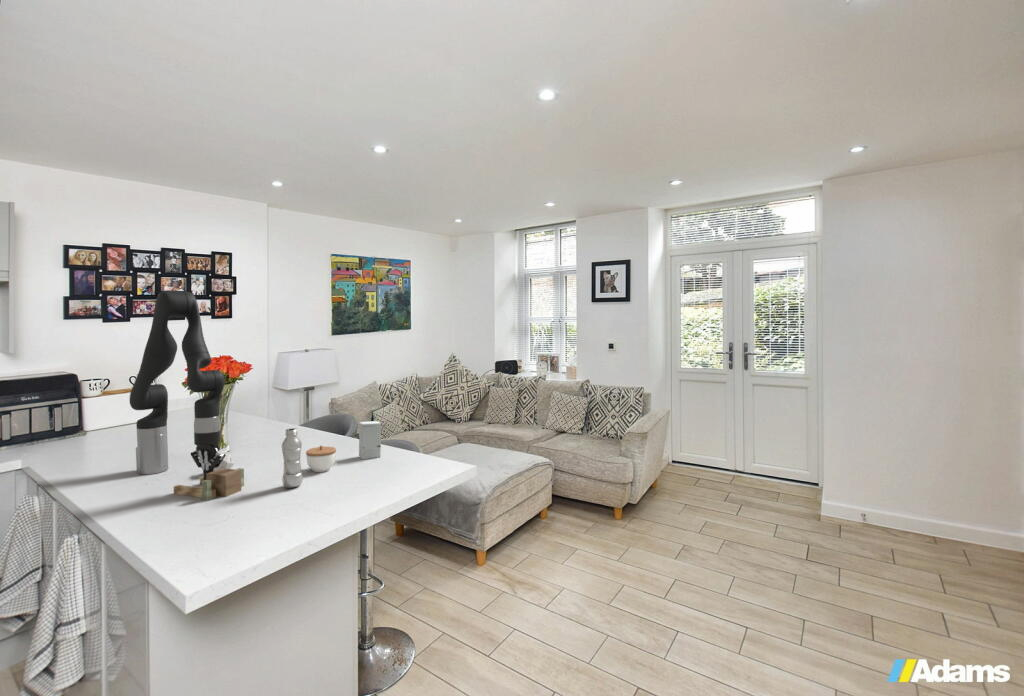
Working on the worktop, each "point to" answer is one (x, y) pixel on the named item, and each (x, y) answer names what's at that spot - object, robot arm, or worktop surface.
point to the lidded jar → (321, 458)
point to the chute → (205, 490)
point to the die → (226, 462)
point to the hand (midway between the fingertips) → (208, 480)
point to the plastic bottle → (292, 459)
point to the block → (225, 481)
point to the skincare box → (369, 439)
